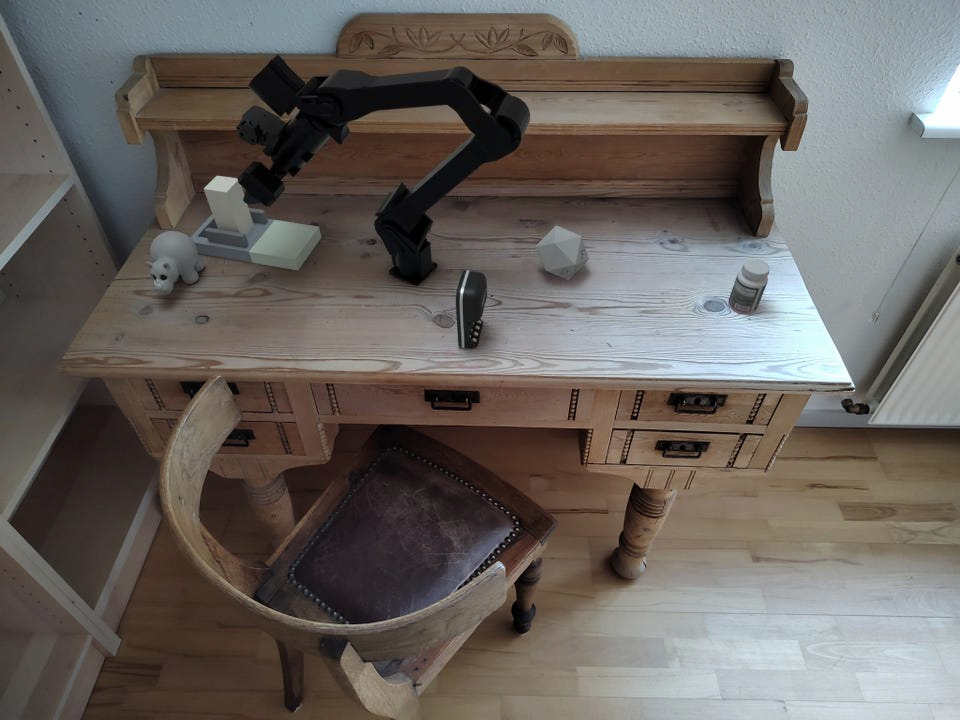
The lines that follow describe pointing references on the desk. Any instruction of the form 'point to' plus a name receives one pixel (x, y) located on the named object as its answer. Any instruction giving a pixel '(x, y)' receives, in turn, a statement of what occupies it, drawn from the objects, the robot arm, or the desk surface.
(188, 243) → the grey rounded figurine
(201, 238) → the channel
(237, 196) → the block
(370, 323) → the desk surface
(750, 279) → the pill bottle
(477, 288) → the battery charger
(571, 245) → the die
